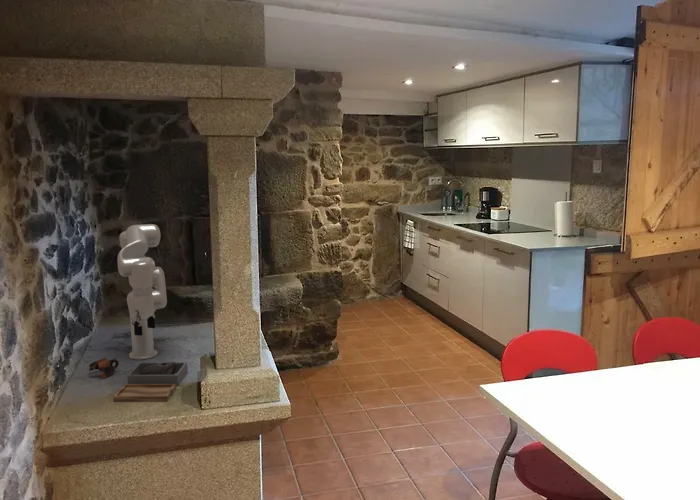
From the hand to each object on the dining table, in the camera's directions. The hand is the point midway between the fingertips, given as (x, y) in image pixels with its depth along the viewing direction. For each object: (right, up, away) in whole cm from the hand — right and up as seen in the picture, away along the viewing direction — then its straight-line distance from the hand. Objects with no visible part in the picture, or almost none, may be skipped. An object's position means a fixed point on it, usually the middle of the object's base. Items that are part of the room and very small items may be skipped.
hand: (145, 331), depth 228 cm
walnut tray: (+3, -24, -8) cm, 26 cm away
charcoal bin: (+3, -21, +7) cm, 23 cm away
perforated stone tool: (+3, -22, +7) cm, 23 cm away
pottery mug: (-22, -21, +12) cm, 33 cm away
